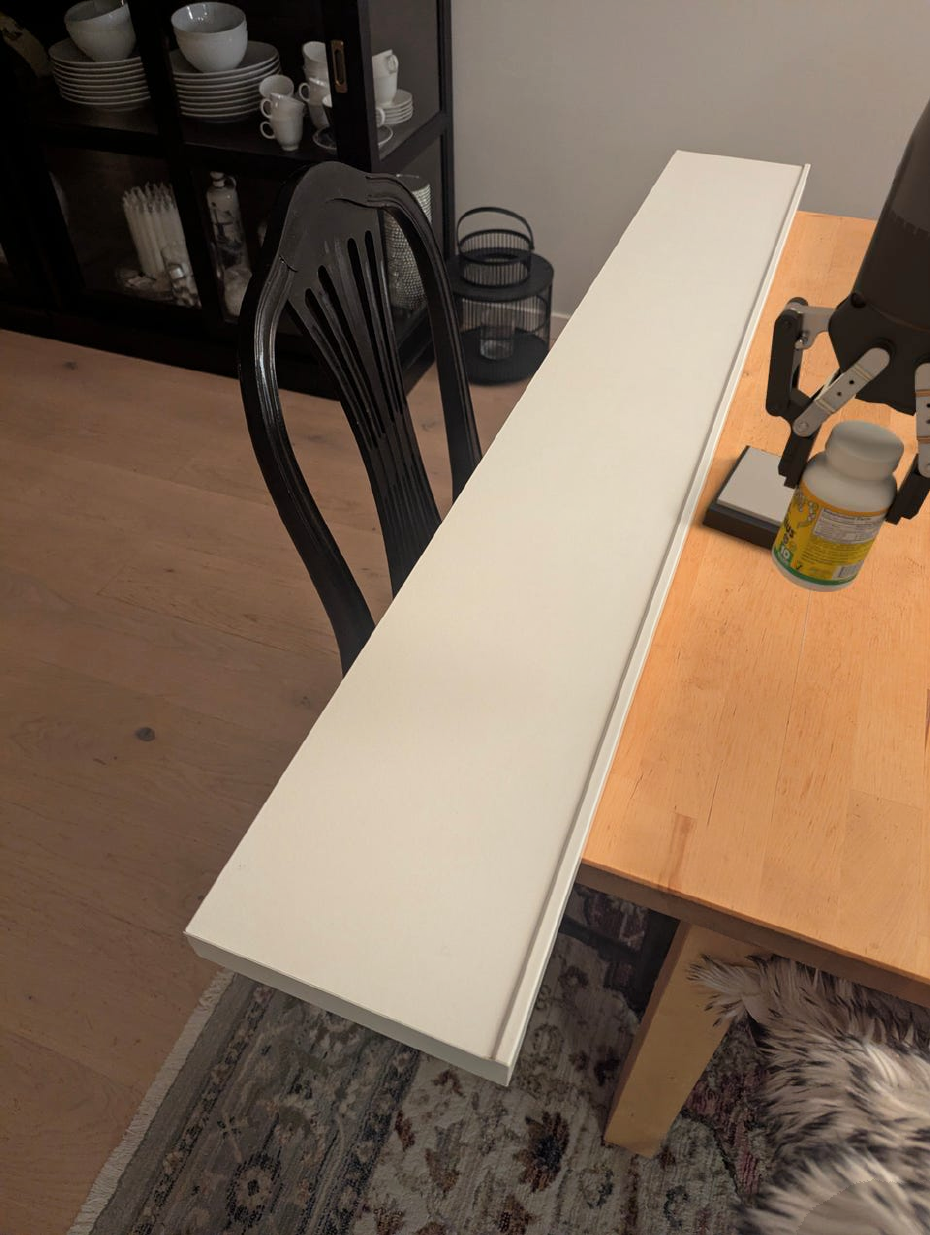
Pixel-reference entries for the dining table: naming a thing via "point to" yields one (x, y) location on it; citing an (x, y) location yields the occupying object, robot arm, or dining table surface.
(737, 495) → the scale
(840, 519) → the supplement bottle
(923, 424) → the robot arm
